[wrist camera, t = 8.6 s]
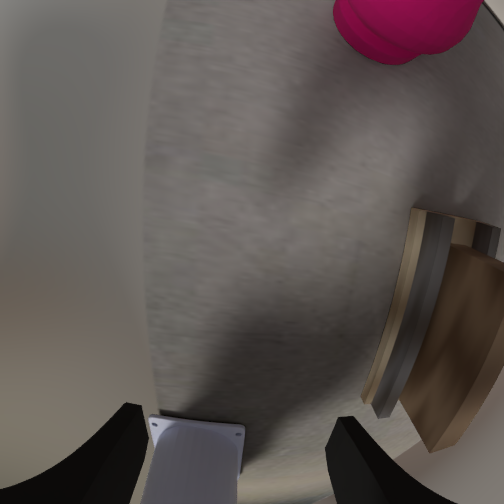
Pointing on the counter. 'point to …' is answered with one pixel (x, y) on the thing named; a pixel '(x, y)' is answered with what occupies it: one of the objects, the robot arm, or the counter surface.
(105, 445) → the robot arm
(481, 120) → the counter surface
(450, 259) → the door panel
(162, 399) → the counter surface
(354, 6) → the pepper mill
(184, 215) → the counter surface
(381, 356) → the track board
